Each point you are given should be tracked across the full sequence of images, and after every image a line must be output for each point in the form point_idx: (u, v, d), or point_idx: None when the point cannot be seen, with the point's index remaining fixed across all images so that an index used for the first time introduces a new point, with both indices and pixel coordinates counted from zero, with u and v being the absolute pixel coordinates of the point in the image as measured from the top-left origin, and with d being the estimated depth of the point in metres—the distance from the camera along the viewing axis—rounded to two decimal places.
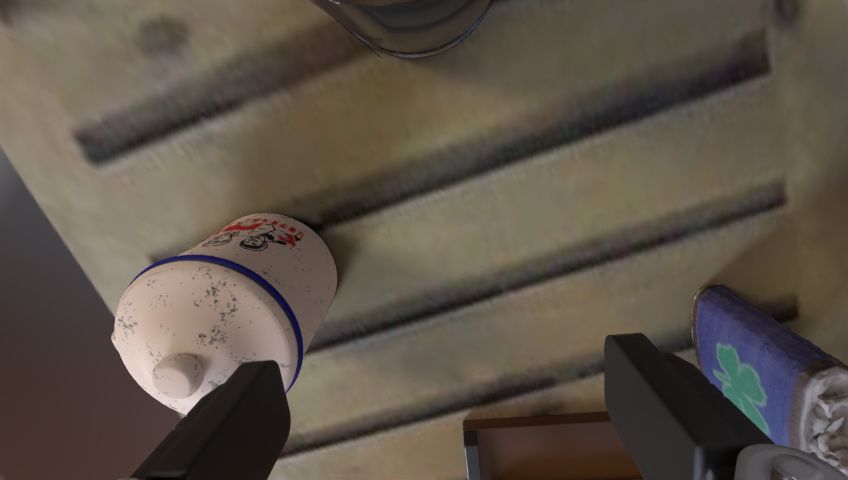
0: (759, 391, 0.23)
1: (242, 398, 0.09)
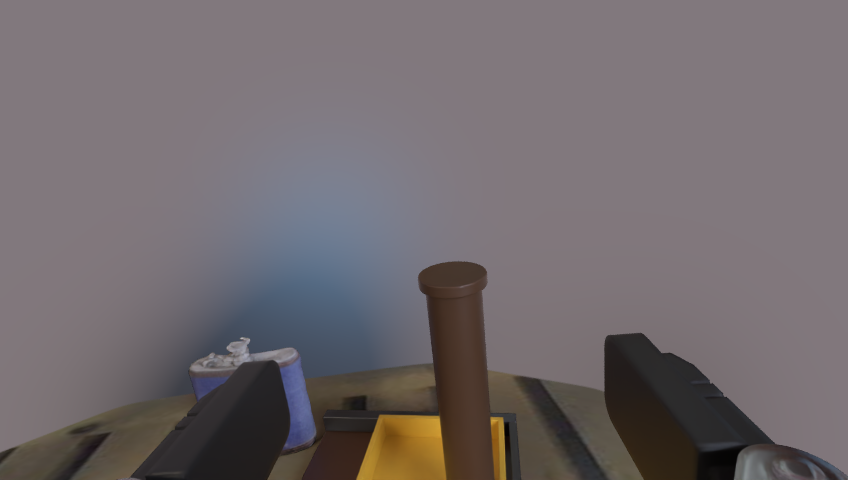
0: None
1: (242, 398, 0.09)
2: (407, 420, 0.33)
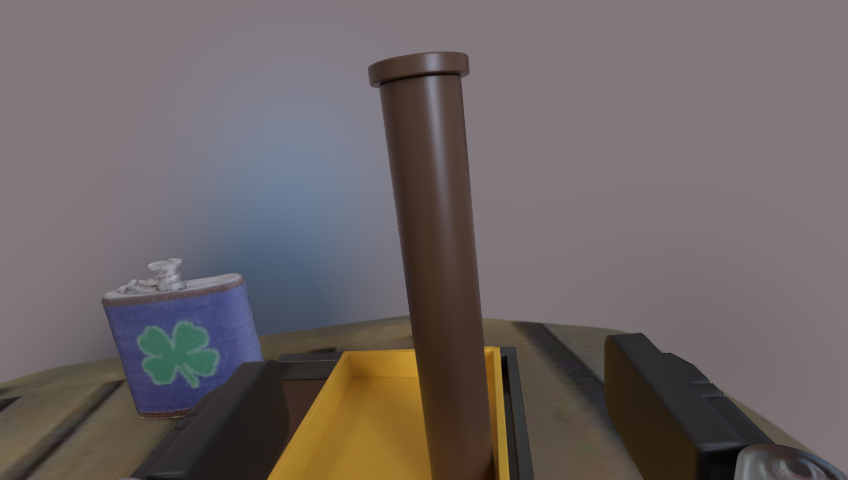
0: (150, 333, 0.27)
1: (242, 398, 0.09)
2: (378, 355, 0.26)
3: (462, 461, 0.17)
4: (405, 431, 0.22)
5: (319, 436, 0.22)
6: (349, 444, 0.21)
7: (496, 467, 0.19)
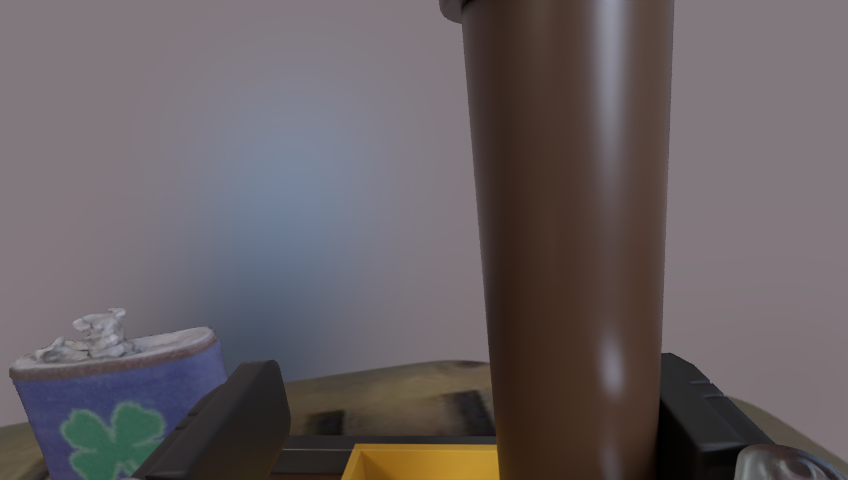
0: (78, 419, 0.18)
1: (242, 398, 0.09)
2: (405, 453, 0.18)
3: None
4: None
5: None
6: None
7: None
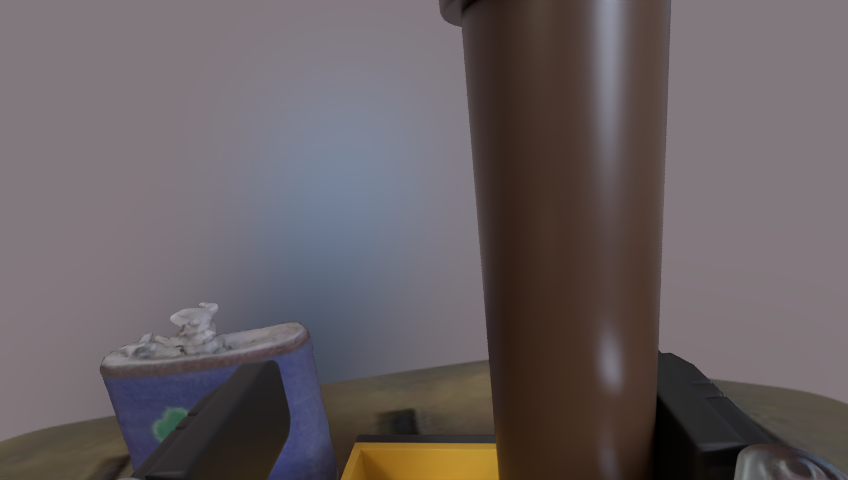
0: (172, 417, 0.18)
1: (242, 398, 0.09)
2: (405, 452, 0.18)
3: None
4: None
5: None
6: None
7: None
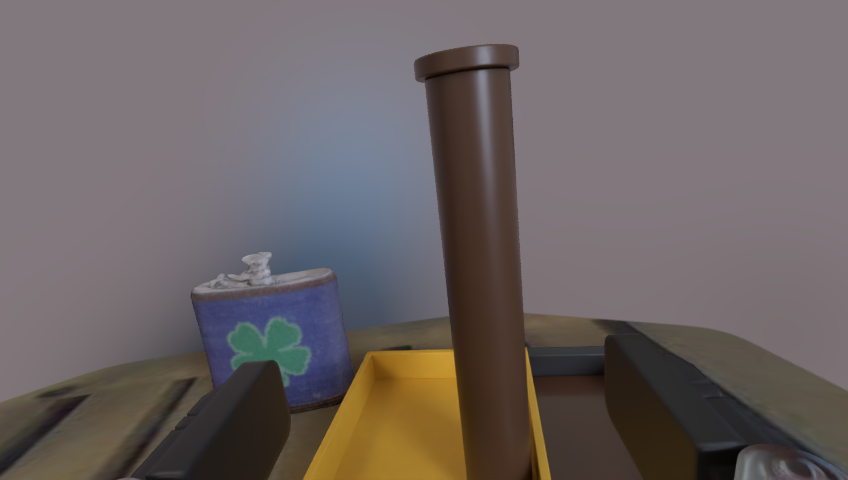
0: (241, 329, 0.26)
1: (242, 398, 0.09)
2: (403, 356, 0.26)
3: (503, 465, 0.16)
4: (435, 433, 0.21)
5: (347, 438, 0.21)
6: (378, 446, 0.21)
7: (532, 471, 0.18)
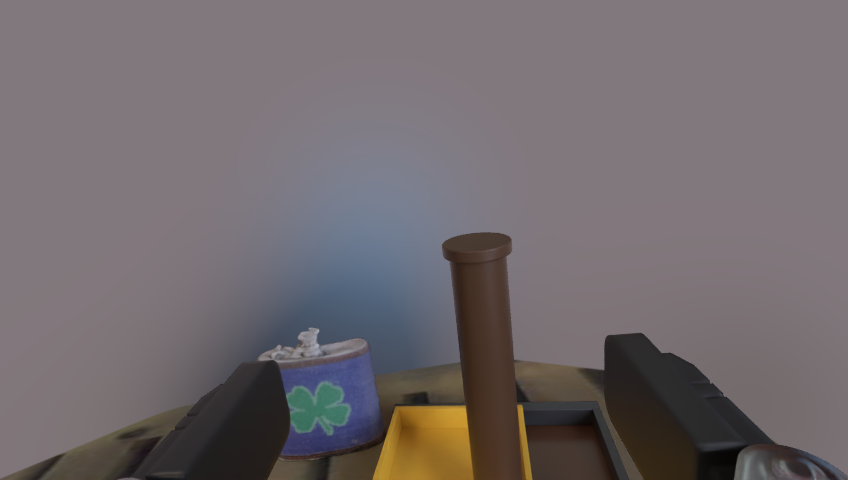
0: (297, 391, 0.32)
1: (242, 398, 0.09)
2: (424, 411, 0.33)
3: None
4: (452, 478, 0.28)
5: None
6: None
7: None
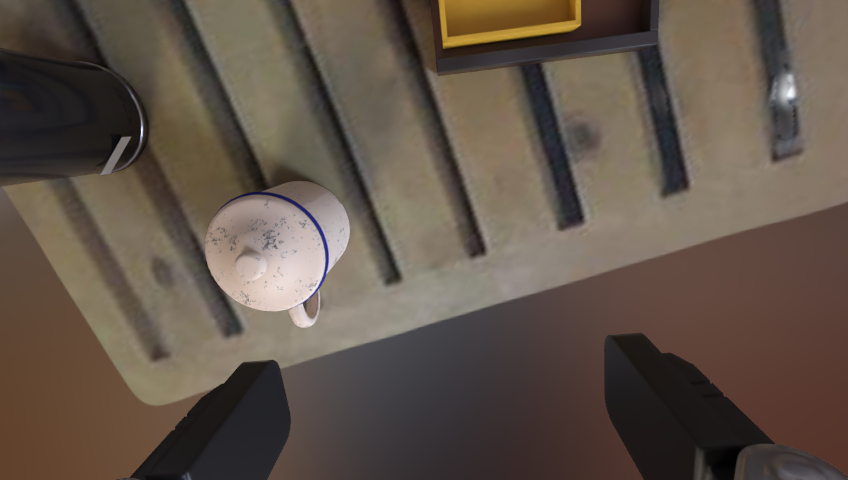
0: None
1: (242, 398, 0.09)
2: None
3: None
4: None
5: None
6: None
7: None
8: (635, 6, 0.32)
